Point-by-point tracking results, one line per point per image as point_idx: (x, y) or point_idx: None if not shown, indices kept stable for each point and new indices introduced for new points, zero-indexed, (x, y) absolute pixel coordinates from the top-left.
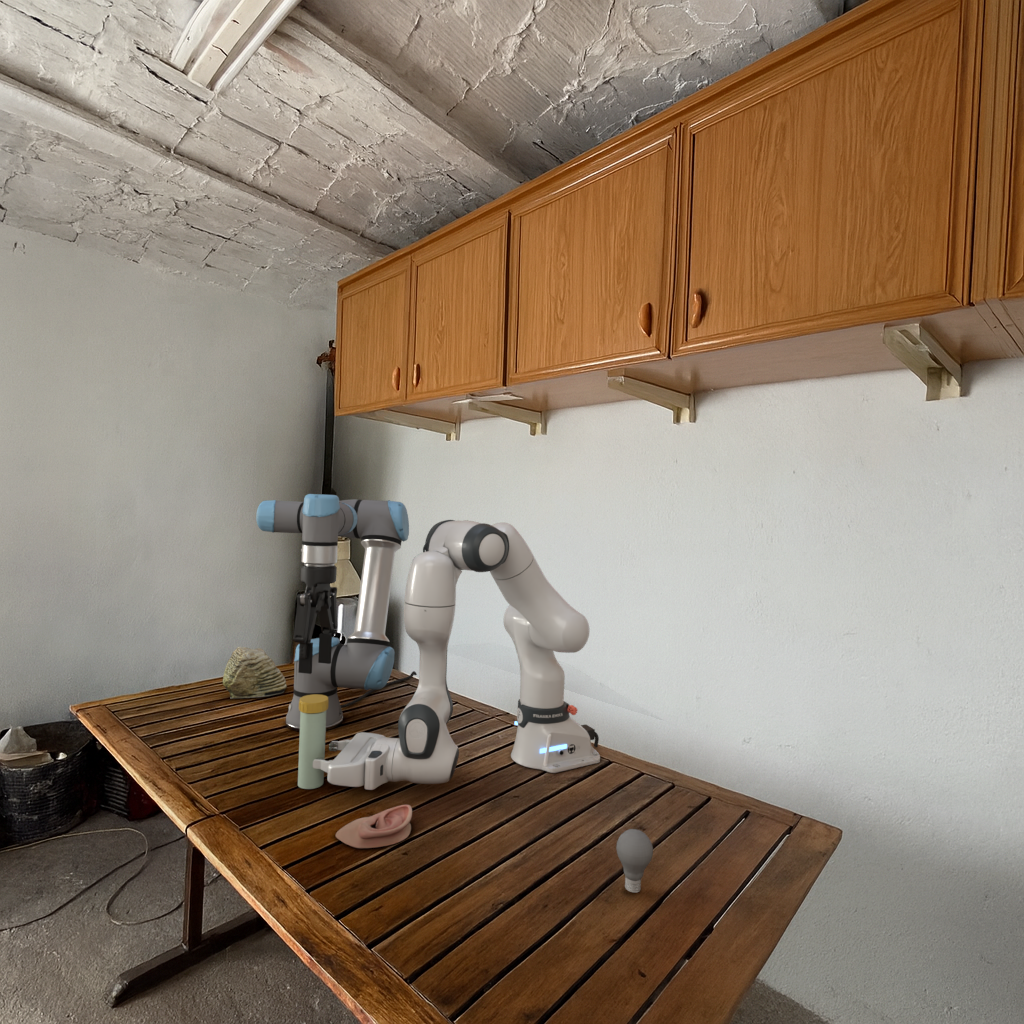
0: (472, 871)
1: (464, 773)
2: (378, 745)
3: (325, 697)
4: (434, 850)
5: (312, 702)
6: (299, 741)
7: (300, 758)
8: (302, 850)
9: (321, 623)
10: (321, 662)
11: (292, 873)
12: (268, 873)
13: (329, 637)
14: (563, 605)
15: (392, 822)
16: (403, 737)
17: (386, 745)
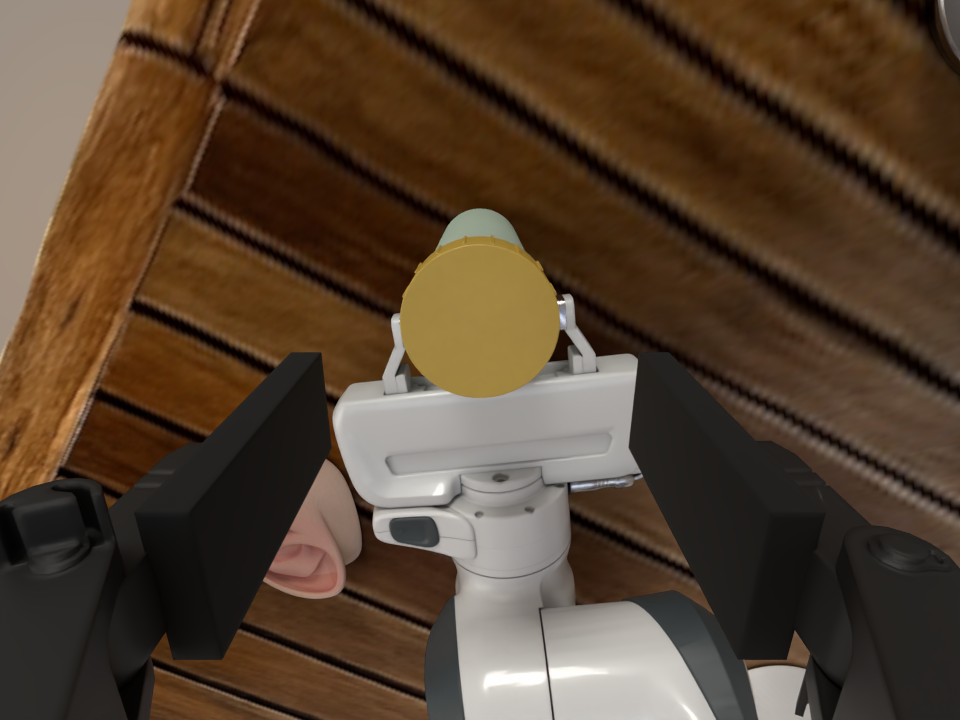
0: (250, 684)
1: (641, 593)
2: (462, 532)
3: (518, 373)
4: (285, 620)
5: (416, 349)
6: (449, 234)
7: (440, 240)
8: (169, 397)
9: (877, 715)
10: (638, 382)
11: (90, 419)
12: (64, 374)
13: (722, 621)
14: None
15: (289, 560)
16: (430, 649)
17: (469, 553)
